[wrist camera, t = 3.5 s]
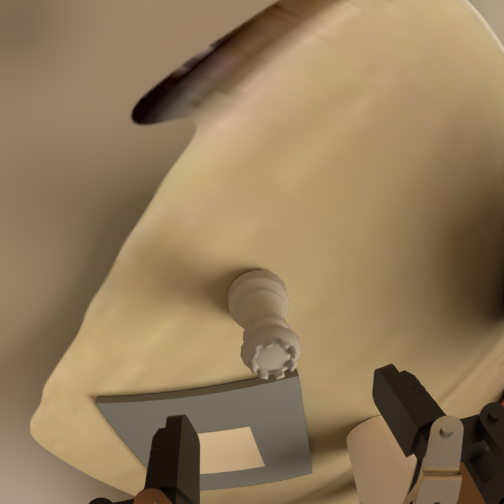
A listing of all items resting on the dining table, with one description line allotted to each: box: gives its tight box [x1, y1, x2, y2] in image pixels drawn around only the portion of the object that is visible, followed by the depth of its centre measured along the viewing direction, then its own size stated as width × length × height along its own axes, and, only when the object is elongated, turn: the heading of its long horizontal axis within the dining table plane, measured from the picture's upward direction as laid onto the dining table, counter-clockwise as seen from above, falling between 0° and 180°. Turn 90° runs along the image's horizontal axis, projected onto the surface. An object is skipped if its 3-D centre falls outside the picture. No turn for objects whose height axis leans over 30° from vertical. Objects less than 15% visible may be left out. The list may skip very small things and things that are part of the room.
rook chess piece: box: [227, 270, 302, 380], centre depth 18 cm, size 4×4×8 cm
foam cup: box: [346, 415, 417, 504], centre depth 22 cm, size 10×9×13 cm
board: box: [95, 369, 312, 490], centre depth 26 cm, size 20×20×1 cm
